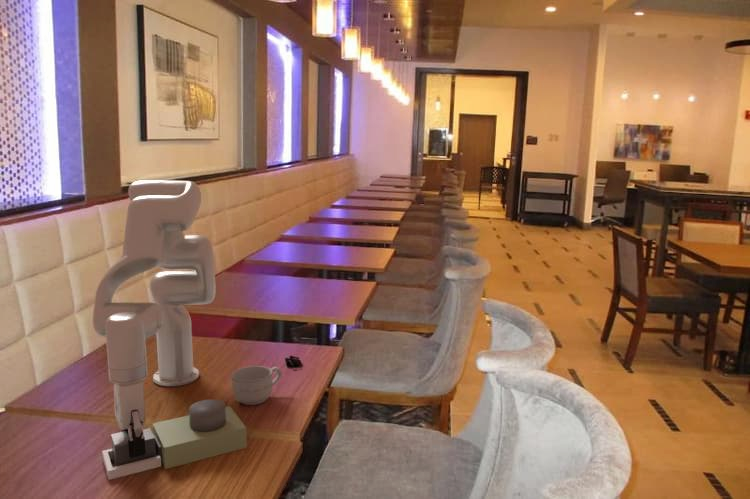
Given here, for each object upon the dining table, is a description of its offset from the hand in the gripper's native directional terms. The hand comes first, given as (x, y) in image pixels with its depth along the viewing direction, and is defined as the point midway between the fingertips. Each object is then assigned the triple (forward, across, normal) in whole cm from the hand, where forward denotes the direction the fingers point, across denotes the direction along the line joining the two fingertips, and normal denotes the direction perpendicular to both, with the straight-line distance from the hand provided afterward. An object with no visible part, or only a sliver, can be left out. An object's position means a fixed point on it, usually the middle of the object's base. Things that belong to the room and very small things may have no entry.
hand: (133, 445), depth 131 cm
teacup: (+4, -16, +34) cm, 38 cm away
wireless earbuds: (+4, -33, +52) cm, 62 cm away
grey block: (+4, 0, 0) cm, 4 cm away
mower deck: (+4, 0, +9) cm, 10 cm away
